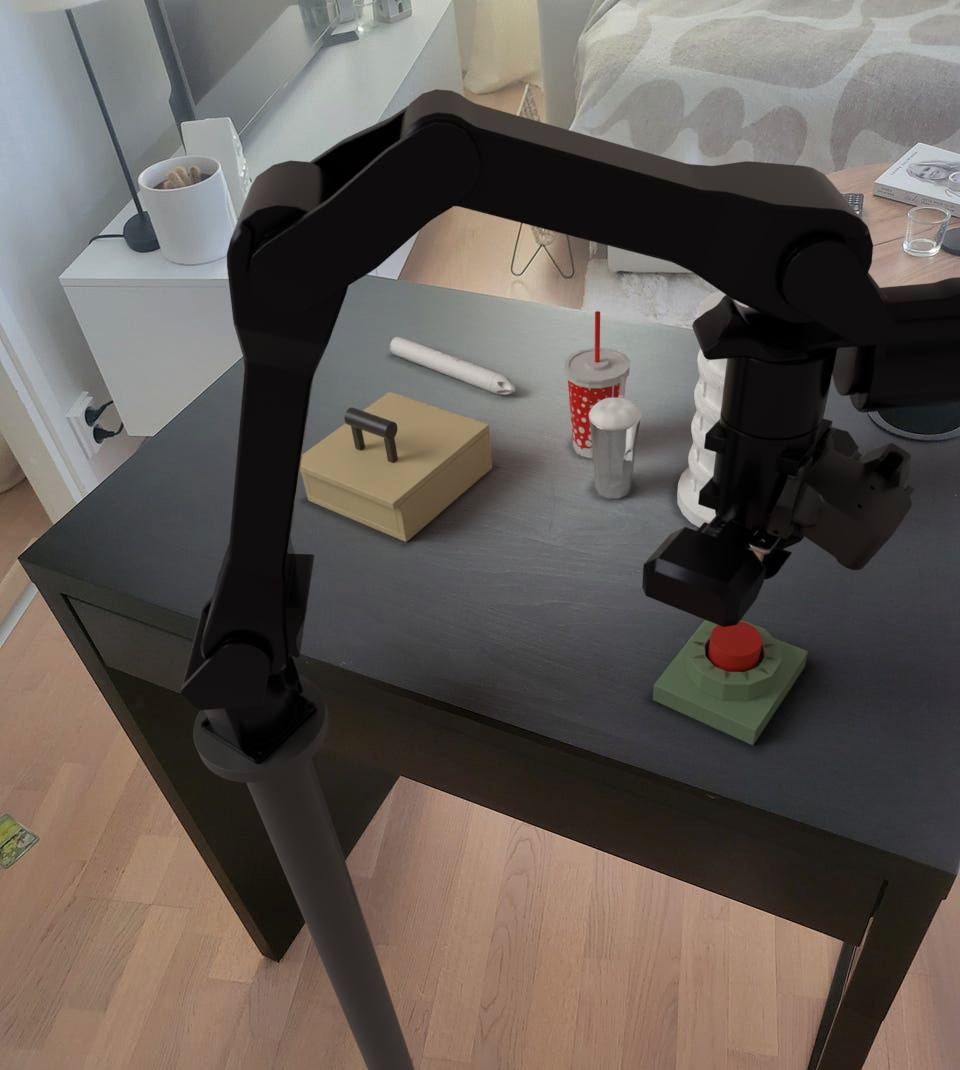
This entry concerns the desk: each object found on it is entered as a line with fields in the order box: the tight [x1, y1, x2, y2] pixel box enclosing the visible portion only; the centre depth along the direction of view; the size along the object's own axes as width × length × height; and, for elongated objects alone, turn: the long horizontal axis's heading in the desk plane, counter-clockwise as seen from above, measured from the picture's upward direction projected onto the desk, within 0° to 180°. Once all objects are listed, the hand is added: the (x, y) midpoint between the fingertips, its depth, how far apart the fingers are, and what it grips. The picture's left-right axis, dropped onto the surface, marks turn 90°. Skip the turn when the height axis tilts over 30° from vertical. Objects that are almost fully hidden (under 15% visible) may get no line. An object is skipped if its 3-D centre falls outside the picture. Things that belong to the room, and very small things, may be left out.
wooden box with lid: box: [300, 391, 490, 509], centre depth 88 cm, size 14×12×5 cm
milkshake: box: [589, 377, 642, 500], centre depth 86 cm, size 4×5×10 cm
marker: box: [389, 336, 516, 396], centre depth 105 cm, size 18×2×2 cm, turn 49°
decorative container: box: [676, 290, 748, 529], centre depth 80 cm, size 12×12×18 cm
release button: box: [708, 621, 762, 672], centre depth 68 cm, size 4×4×2 cm
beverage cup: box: [563, 310, 631, 460], centre depth 89 cm, size 6×6×14 cm
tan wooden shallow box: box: [300, 430, 493, 543], centre depth 91 cm, size 13×12×4 cm
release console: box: [652, 619, 809, 746], centre depth 70 cm, size 9×8×4 cm
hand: (739, 609), depth 66 cm, fingers closed
